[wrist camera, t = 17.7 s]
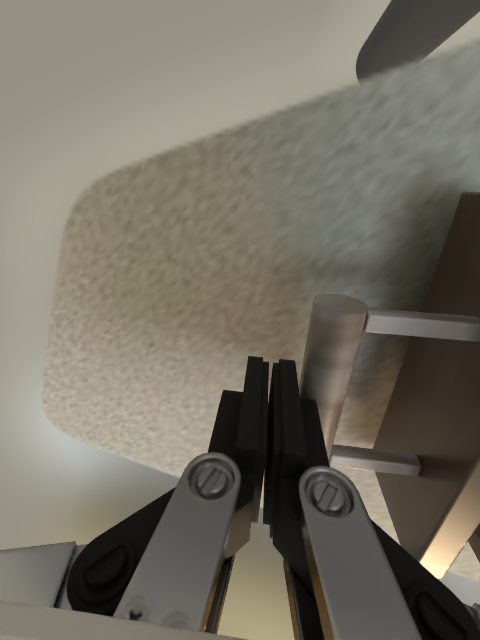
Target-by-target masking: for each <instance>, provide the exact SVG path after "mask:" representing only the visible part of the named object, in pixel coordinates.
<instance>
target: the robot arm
mask: <svg viewBox="0 0 480 640" xmlns="http://www.w3.org/2000/svg"><path fill="white" fill-rule="evenodd" d="M268 379H269V362H263V357H253V356H248V363H247V370H246V376H245V383H244V390H243V392H238V391H229V390H223V393H222V396H221V400H220V404H219V409H218V413H217V417H216V421H215V425H214V429H213V433H212V437H211V441H210V445H209V449H208V453H204V454H202V455H199V456H197V457H196V458H194V459H193V460H192V461H191V462H190V463H189V464H188V465H187V467H186V468H185V470H184V472H183V474H182V476H181V478H180V480H179V483H178V484H177V486H176V487H175V488H174V489H172V490H170V491H169V492H167V493H166V494H164V495H163V496H161V497H159V498H158V499H156V500H155V501H153V502H151V503H150V504H148V505H147V506H145V507H144V508H142V509H141V510H139V511H137V512H136V513H134V514H132V515H131V516H129V517H128V518H126V519H125V520H123V521H121V522H120V523H118V524H117V525H115V526H114V527H112V528H110V529H109V530H107V531H106V532H104V533H103V534H101V535H99V536H98V537H96V538H95V539H94V540H93V541H91V542H90V543H89V544H85V545H76V542H75V541H74V542H66V543H58V544H49V545H41V546H32V547H23V548H15V549H6V550H0V640H246V639H241V638H235V637H229V636H223V635H217V631H218V627H219V622H220V618H221V614H222V609H223V605H224V601H225V597H226V593H227V588H228V583H229V580H230V575H231V571H232V566H233V562H234V558H235V553H236V552H237V551H238V550H239V549H240V548H242V547H243V546H244V545H245V544H246V543H247V542H248V541H249V537H250V528H251V522H255V523H257V522H258V515H259V507H260V499H261V492H262V484H263V476H264V505H263V524H268V525H270V538H273V545H274V546H275V547H276V549H277V550H278V551H279V552H280V554H281V555H282V556H283V559H284V560H283V563H284V572H285V579H286V585H287V592H288V598H289V605H290V611H291V618H292V625H293V631H294V637H295V640H480V605H479V604H476V603H474V605H473V606H472V607H471V606H468V605H466V604H463V603H462V602H461V601H460V600H459V599H458V598H457V597H456V596H455V595H454V594H453V593H452V592H451V590H449V589H448V588H447V587H446V586H445V585H444V584H443V583H442V582H440V581H439V580H438V579H437V578H436V577H435V576H434V575H433V574H431V573H430V572H429V571H428V570H427V569H426V568H425V567H424V566H423V565H421V564H420V563H419V562H418V561H417V560H416V559H415V558H414V557H412V556H411V555H410V554H409V553H408V552H407V551H406V550H405V549H403V548H402V547H401V546H400V545H399V544H398V543H397V542H396V541H394V540H393V539H392V538H391V537H390V536H389V535H388V534H387V533H386V532H384V531H383V530H382V529H381V528H380V527H379V526H378V525H377V524H375V523H374V522H373V521H372V520H371V519H370V517H369V515H368V513H367V511H366V508H365V506H364V504H363V501H362V499H361V497H360V494H359V492H358V490H357V489H356V487H355V485H354V484H353V482H352V481H351V480H350V479H349V478H348V477H347V476H346V475H344V474H343V473H341V472H340V471H338V470H336V469H333V468H331V467H330V465H329V460H328V456H327V451H326V446H325V441H324V436H323V431H322V426H321V421H320V417H319V412H318V407H317V403H316V401H315V400H311V399H302V398H300V395H299V387H298V379H297V372H296V364H295V361H293V360H283V359H280V360H279V363H273V368H272V377H271V385H270V393H269V402H268ZM264 469H265V471H264Z"/></svg>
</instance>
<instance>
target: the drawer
mask: <svg viewBox="0 0 480 640" xmlns="http://www.w3.org/2000/svg"><path fill="white" fill-rule="evenodd" d="M363 330H364V331H365V332H372V333H383V334H395V335H406V336H412V338H411V341H410V344H409V346H408V349H407V352H406V355H405V358H404V361H403V364H402V366H401V369H400V372H399V375H398V378H397V381H396V384H395V387H394V389H393V392H392V395H391V398H390V401H389V404H388V407H387V409H386V412H385V415H384V418H383V421H382V424H381V427H380V429H379V432H378V435H377V438H376V441H375V444H374V447H373V449H367V448H359V447H351V446H342V445H334V444H333V442H334V438H335V435H336V431H337V427H338V423H339V419H340V415H341V412H342V408H343V404H344V400H345V396H346V392H347V389H348V385H349V381H350V377H351V373H352V369H353V366H354V362H355V358H356V354H357V350H358V346H359V343H360V339H361V335H362V331H363ZM299 395H300V398H302V399H311V400H315V401H316V403H317V407H318V412H319V417H320V421H321V426H322V431H323V436H324V441H325V446H326V451H327V456H328V460H329V465H330V466H338V467H346V468H354V469H362V470H370V471H375V473H376V476H377V479H378V482H379V485H380V488H381V491H382V493H383V496H384V499H385V502H386V505H387V508H388V511H389V513H390V516H391V519H392V522H393V525H394V528H395V531H396V533H397V536H398V539H399V542H400V545H401V547H402V548H403V549H405V550H406V551H407V552H408V553H409V554H410V555H411V556H412V557H414V558H415V559H416V560H417V561H418V562H419V563H420V564H421V565H423V566H424V567H425V568H426V569H427V570H428V571H429V572H430V573H431V574H433V575H434V576H435V577H436V578H442V577H443V576H444V574H445V573H446V572H447V570H448V569H449V567H450V566H451V564H452V563H453V561H454V560H455V559H456V557H457V556H458V554H459V553H460V551H461V550H462V549H463V547H464V546H465V544H466V543H467V541H468V542H469V544H470V546H471V547H472V549H473V551H474V553H475V555H476V557H477V558H478V560H479V562H480V192H464V193H462V195H461V198H460V200H459V203H458V206H457V209H456V212H455V215H454V218H453V220H452V223H451V226H450V229H449V232H448V235H447V238H446V241H445V243H444V246H443V249H442V252H441V255H440V258H439V261H438V263H437V266H436V269H435V272H434V275H433V278H432V281H431V283H430V286H429V289H428V292H427V295H426V298H425V301H424V303H423V306H422V309H421V312H412V311H400V310H387V309H375V308H367V305H366V304H365V303H363V302H362V301H360V300H358V299H355V298H352V297H349V296H345V295H338V294H324V295H319V296H317V297H315V299H314V300H313V305H312V311H311V317H310V323H309V329H308V335H307V341H306V347H305V353H304V359H303V365H302V371H301V377H300V383H299Z"/></svg>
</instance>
